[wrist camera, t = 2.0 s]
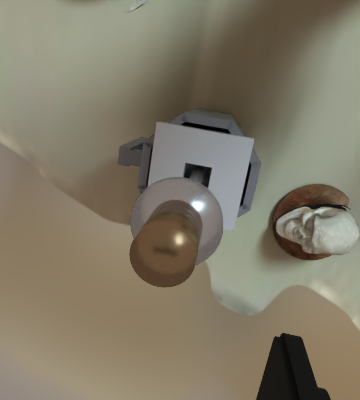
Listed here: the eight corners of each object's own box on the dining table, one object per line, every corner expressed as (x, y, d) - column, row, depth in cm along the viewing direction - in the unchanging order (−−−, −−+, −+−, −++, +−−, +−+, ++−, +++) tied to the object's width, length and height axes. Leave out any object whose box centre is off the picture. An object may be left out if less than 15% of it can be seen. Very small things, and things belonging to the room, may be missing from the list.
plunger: (246, 137, 37) (271, 190, 15) (230, 210, 39) (231, 349, 17) (169, 123, 38) (85, 154, 16) (158, 196, 40) (72, 312, 18)
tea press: (255, 118, 49) (270, 128, 31) (238, 195, 53) (243, 244, 34) (154, 101, 50) (112, 100, 32) (144, 177, 54) (101, 215, 36)
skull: (269, 265, 54) (278, 243, 45) (269, 205, 58) (277, 174, 49) (351, 272, 52) (377, 250, 43) (345, 210, 57) (367, 178, 47)
